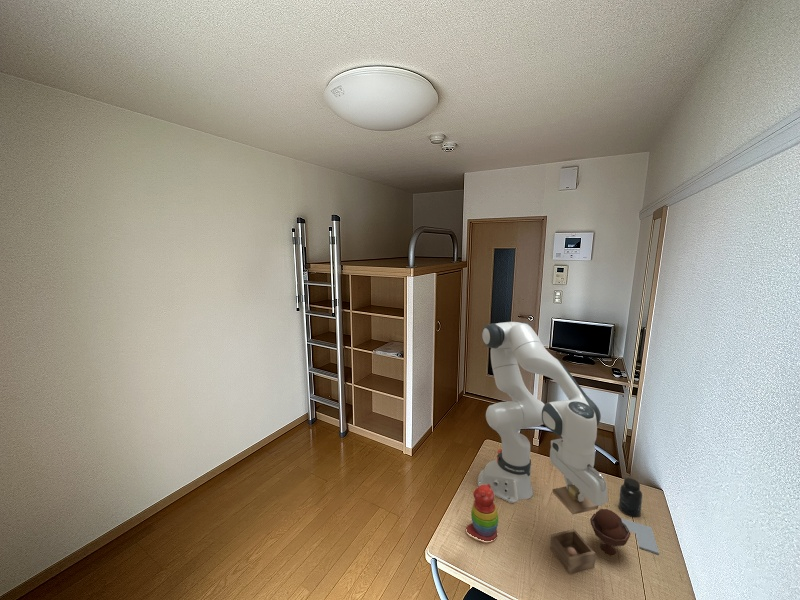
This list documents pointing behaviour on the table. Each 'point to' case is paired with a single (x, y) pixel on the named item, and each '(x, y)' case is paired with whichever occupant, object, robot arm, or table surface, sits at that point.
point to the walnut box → (574, 540)
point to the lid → (573, 500)
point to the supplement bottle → (630, 497)
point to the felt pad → (643, 536)
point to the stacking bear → (483, 514)
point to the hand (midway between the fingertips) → (574, 494)
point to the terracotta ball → (571, 551)
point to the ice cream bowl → (609, 530)
